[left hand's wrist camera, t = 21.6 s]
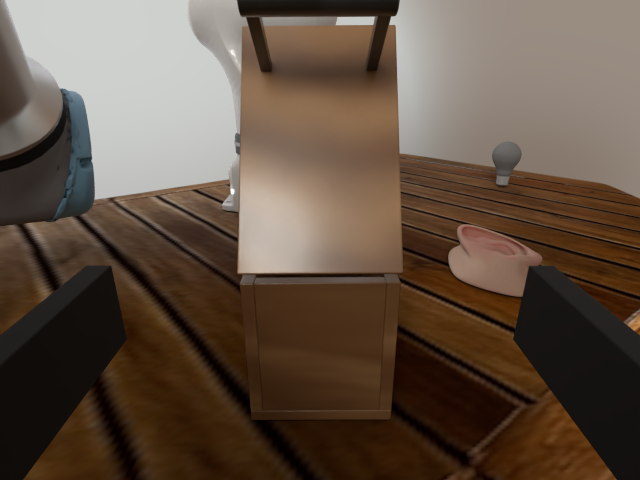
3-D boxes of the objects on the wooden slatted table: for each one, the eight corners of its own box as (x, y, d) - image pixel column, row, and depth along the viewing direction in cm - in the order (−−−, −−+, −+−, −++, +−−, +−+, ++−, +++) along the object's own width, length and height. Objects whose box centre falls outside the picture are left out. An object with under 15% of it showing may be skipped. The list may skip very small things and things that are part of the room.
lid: (245, 36, 28) (213, -69, 19) (392, 35, 27) (422, -71, 19) (240, 275, 26) (203, 268, 17) (399, 274, 25) (435, 266, 17)
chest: (274, 308, 44) (269, 210, 40) (367, 307, 44) (371, 209, 40) (251, 420, 29) (239, 283, 25) (390, 419, 29) (400, 282, 25)
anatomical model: (557, 270, 43) (444, 254, 47) (550, 303, 44) (441, 285, 48) (543, 230, 54) (453, 220, 58) (537, 257, 56) (450, 246, 60)
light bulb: (492, 188, 91) (499, 143, 88) (484, 182, 97) (490, 140, 93) (519, 188, 91) (527, 143, 87) (510, 182, 97) (517, 140, 93)
